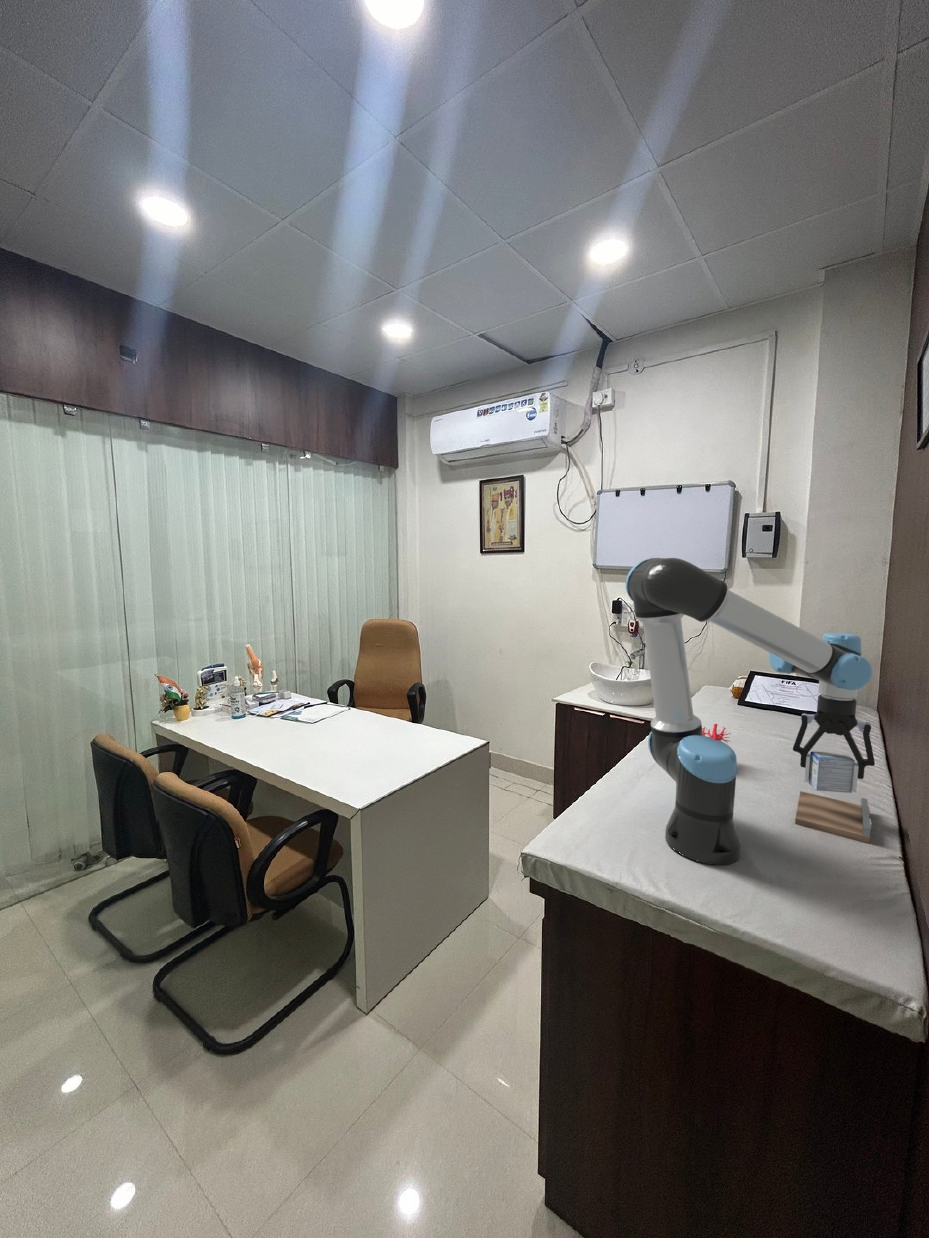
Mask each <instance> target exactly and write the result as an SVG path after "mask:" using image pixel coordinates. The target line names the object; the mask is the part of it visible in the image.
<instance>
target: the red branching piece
mask: <svg viewBox="0 0 929 1238" xmlns="http://www.w3.org/2000/svg"><path fill="white" fill-rule="evenodd" d="M717 728H718V724H717V723H714V724H713V727H712V734H711V733H710V732H711V729H708V730H707V732H705V731H706V726H703V727H702V731H703V736H706V735H707V736H708V737H711V738H714V739H715V740H720V741H722V742H725V743H728V742H729V743H731V744H732V742H731V741H730V740H728V739H729V738H731V737H730V736H728V735H732V733H731V732H729V733H727V731H725V730H726V729H727V728H726V727H724V726H723V727H722V728H723V729H722V731H721V732H720V730H721V729H719V730H717ZM717 731H718V732H717ZM724 736H725V737H724ZM726 738H728V739H726Z"/></svg>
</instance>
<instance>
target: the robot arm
mask: <svg viewBox="0 0 929 1238" xmlns="http://www.w3.org/2000/svg"><path fill="white" fill-rule="evenodd" d="M625 591H626V594H627V595H628V597H629V599H630V600H631V601H632V603H633V608H634V610H633V611H634V614H635V619H637V620H638V621H639V622H641V623H642V625H643V632H644V640H645V646H646V654H647V661H648V669H649V675H650V684H651V690H652V697H653V704H654V710H655V712H654V713H655V717H654V718H653V719H652V720H651V721H650V728H651V731H650V732H649V735H648V738H647V745H648V750H649V753H650V754H651V758H653V759H652V760H654V761H655V763H657V765H658V766H659V767H660V768H661V769H662V770H663V771H664V772H666V773H667V774H668V776H669V777H670V778H671V779H672V780H673V781H674V782H675V785H676V787H675V804H674V808H673V811H672V812H671V815H670V817H669V819H668V821H667V824H666V826H665V835H664V836H665V837H664V838H665V839H666V840H665V842H666V841H667V842H666V844H667V843H668V844H669V845H668V844H667V845H668V847H670V846H671V847H672V848H674V849H675V850H676V851H677V852H680V853H681V854H683V855H684V856H686V857H688V858H690V859H689V860H691V859H694V860H698V861H700V862H699V863H701V862H703V863H702V864H705V863H708V864H707V865H712V864H714V865H713V866H717V865H718V866H723V865H729V864H733V863H734V862H737V861H738V860H739V859H740V857H741V842H740V838H739V834H738V831H737V828H736V824H735V820H734V808H735V797H736V796H735V795H736V783H737V782H736V781H737V774H738V763H737V762H738V761H737V755H736V753H735V751H734V750H733V748H732V747H731V746H729V745H728V743H726V742H725V741H723V740H721V741H720V740H715V739H714V738H711V737H710V736H708V735H705V736H703V726H702V720H701V719H700V718H699V717H698V716H696V715H695V714H694V709H693V702H692V701H693V700H692V695H691V693H692V692H691V686H690V679H689V672H688V670H689V669H688V663H687V657H686V656H687V655H686V649H685V642H684V641H685V640H684V632H683V625H682V618H683V617H684V616H687V617H690V618H692V619H693V620H696V621H697V622H700V623H704V622H710V623H711V624H714V625H716V626H718V627H719V628H721V629H723V630H725V631H727V632H729V633H731V634H733V635H735V636H737V637H739V638H741V639H743V640H745V641H747V642H749V643H750V644H753V645H755V646H756V647H758V648H760V649H763V650H764V651H766V652H768V653H769V655H768V656H769V657H768V660H769V664H770V667H772V669H773V670H774V672H775V671H776V673H780V674H781V673H783V674H788V675H789V674H798V675H801V676H804V677H807V678H810V679H813V680H817V681H818V693H819V695H817V705H816V706H817V707H816V712H815V713H814V714H807V712H803V713H801V725H800V727H799V730H798V733H797V735H796V739H795V741H794V744H793V747H792V751H793V752H795V753H798V754H799V755H800V764H799V766H800V768H805V769H804V782H805V783H808V780H809V766H810V752H811V750H812V749H813V747H814V746H815V745H816V744H817V742H818V741H819V740H820V739H821V738H822V736H823V735H824V734H825V733H826V734H830V735H832V734H833V735H834V734H835V735H837V736H840V737H841V736H843V737H844V739H845V741H846V742H847V744H848V747H849V748H850V750H851V752H852V754H853V756H854V759H855V761H856V762H855V764H854V775H853V785H852V793H855V794H856V793H857V787H858V780H864V777H865V768H866V767H874V766H875V765H876V762H875V757H874V752H873V745H872V742H871V737H870V736H871V735H870V733H871V730H872V724H871V722H867V721H866V722H863V721H858V720H857V718H856V712H857V700H856V698H857V697H858V691H859V690H860V689H862V688H864V687H865V686H867V684H868V683H869V682H870V679H871V678H872V675H873V668H872V665H871V663H870V661H868V660H867V659H866V658H865V657H863V656H862V638H861V637H860V636H859V635H857V634H853V633H848V632H847V633H846V632H826V633H824V634H822V638H820V637H818V636H817V635H814V634H813V633H810V632H809V631H807V630H804V629H803V628H800V626H797V625H795V624H793V623H792V622H789V621H788V620H786V619H784V618H782V617H780V616H778V615H776V614H775V613H772V612H771V611H769V610H768V609H765V608H763V607H762V606H760V605H758V604H755V603H754V602H752V601H750V600H748V599H746V598H745V597H742V596H740V595H739V594H737V593H735V592H733V591H731V590H730V588H729V585H728V583H727V582H725V581H723V580H721V579H719V578H718V577H715V576H714V575H712V574H710V573H709V572H707V571H705V570H703V569H702V568H700V567H698V566H696V565H695V564H693V563H691V562H689V561H686V560H685V559H681V558H677V557H667V558H665V557H663V558H662V557H651V558H646V559H644V560H642V561H639V562H637V563H636V564H634V566H632V567H631V569H630V570H629V572H628V573H627V575H626V580H625ZM813 720H815V722H816V723H817V725H818V728H817V729H816V731H815V732H814V733H813V735H812V736H811V737H810V738H809V739H808V741H807V742H806V743H805V745H804V746H803V747H801V744H802V742H803V738H804V736H805V735H806V731H807V729H808V724H811V723H812V721H813ZM855 727H858V729H859V731H860V733H861V732H862V737H863V744H864V747H865V753H866V758H864V757H863V755H862V753H861V751H860V748H859V747H858V745H857V744H856V742H855V740H854V737H853V735H852V732H851V731H852V730H853V729H854V728H855ZM671 847H670V848H671ZM672 848H671V849H672ZM677 852H676V853H677ZM684 856H683V857H684ZM686 857H685V858H686ZM688 858H687V859H688ZM694 860H693V861H694Z"/></svg>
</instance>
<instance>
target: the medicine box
mask: <svg viewBox="0 0 929 1238" xmlns="http://www.w3.org/2000/svg"><path fill="white" fill-rule="evenodd" d="M809 754H810V766H809V779H808V782H807V783H808V784H809V785H810V786H811V787H812V788H813V789H814V790H815V791H819V792H831V793H833V792H834V793H849V794H851V793H853V792H852V785H853V775H854V764H855V763H856V759H853V758H852V757H851V756H850V755H848V754H846V753H844V752H829V751H813V750H812V751H810V752H809Z"/></svg>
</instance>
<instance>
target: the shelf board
mask: <svg viewBox="0 0 929 1238" xmlns="http://www.w3.org/2000/svg"><path fill="white" fill-rule="evenodd" d="M870 809H871V808H870V805H869V802H868V799H867V798H864V797H861V798H860V804H856V803H854V802H853V803H852V802H848V801H843V800H840V799H835V798H831V797H827V796H822V795H818V794H813V793H809V792H805V791H799V798H798V802H797V808H796V813H795V819H794V825H798V826H802V827H805V828H810V829H812V830H813V829H814V830H816V831H819V832H820V831H821V832H824V833H827V834H832V835H834V836H835V835H836V836H839V837H842V838H846V839H851V840H855V841H857V840H858V842H861V843H865V844H870V838H871V829H872V819H871V818H870V814H871V813H870V812H871V810H870Z"/></svg>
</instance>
